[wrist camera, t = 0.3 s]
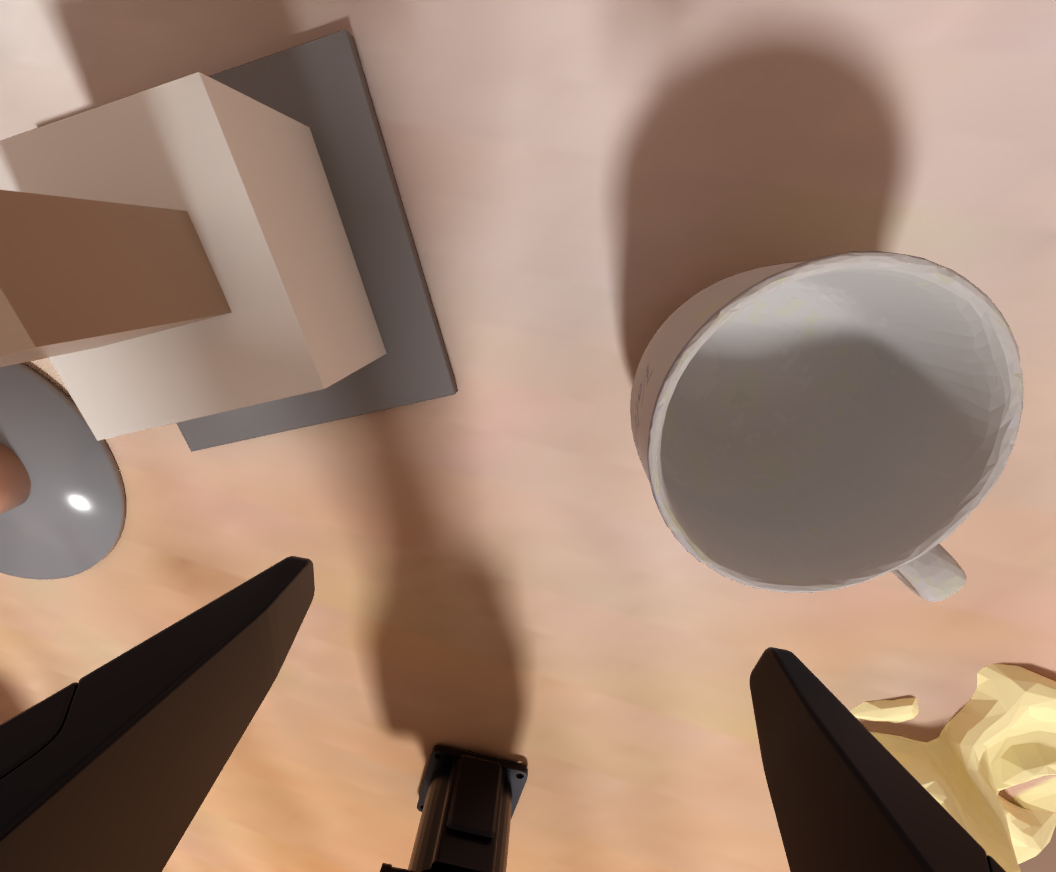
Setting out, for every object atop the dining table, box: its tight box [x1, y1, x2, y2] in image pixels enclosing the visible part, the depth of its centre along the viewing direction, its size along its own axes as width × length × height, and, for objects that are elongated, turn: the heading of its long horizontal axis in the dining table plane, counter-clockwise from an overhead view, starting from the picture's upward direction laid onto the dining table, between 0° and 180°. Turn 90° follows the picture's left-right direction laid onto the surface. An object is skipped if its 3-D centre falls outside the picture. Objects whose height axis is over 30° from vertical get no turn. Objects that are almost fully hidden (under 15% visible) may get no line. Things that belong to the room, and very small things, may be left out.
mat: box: [177, 29, 458, 452], centre depth 21 cm, size 14×14×1 cm
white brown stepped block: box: [0, 72, 387, 441], centre depth 15 cm, size 9×9×12 cm
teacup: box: [630, 251, 1024, 602], centre depth 18 cm, size 14×11×8 cm
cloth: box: [849, 664, 1056, 872], centre depth 27 cm, size 22×19×6 cm
